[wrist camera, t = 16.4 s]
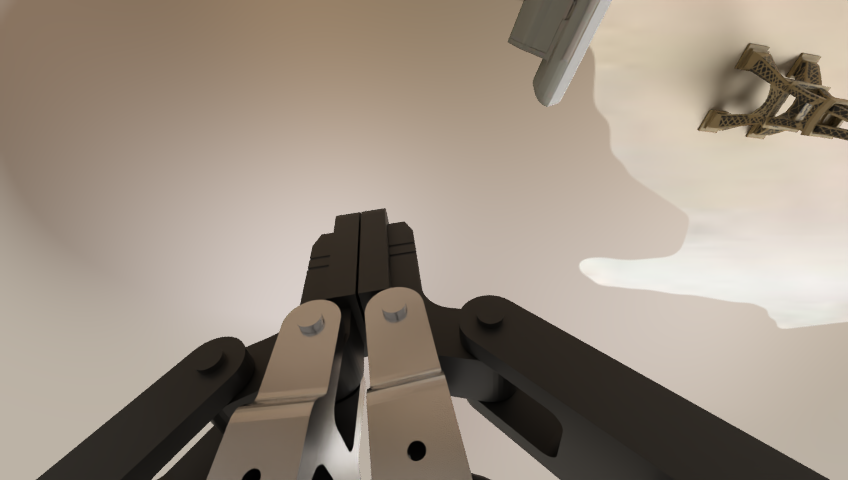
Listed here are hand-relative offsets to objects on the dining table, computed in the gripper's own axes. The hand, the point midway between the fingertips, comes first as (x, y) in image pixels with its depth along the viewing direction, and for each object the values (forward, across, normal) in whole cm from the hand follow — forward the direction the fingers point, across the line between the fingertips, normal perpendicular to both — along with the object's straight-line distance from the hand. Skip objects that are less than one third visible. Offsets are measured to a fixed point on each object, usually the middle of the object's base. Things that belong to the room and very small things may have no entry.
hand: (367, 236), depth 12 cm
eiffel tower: (+35, -48, +12) cm, 61 cm away
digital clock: (+35, -20, -1) cm, 41 cm away
